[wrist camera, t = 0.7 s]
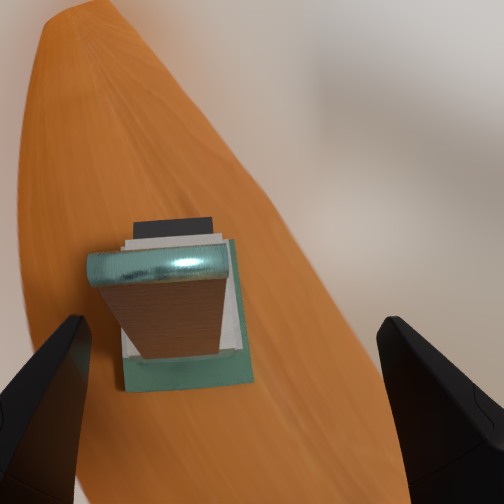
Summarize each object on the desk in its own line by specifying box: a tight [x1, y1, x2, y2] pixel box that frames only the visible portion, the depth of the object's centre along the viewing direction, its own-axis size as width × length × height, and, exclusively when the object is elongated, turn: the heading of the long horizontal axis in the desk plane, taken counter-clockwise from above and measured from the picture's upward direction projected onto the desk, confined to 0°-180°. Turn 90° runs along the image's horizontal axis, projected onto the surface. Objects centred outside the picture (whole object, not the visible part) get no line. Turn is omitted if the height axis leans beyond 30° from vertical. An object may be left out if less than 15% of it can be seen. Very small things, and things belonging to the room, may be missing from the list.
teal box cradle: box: [121, 217, 254, 392], centre depth 21 cm, size 11×9×6 cm
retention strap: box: [86, 243, 229, 359], centre depth 12 cm, size 1×4×9 cm, turn 98°
